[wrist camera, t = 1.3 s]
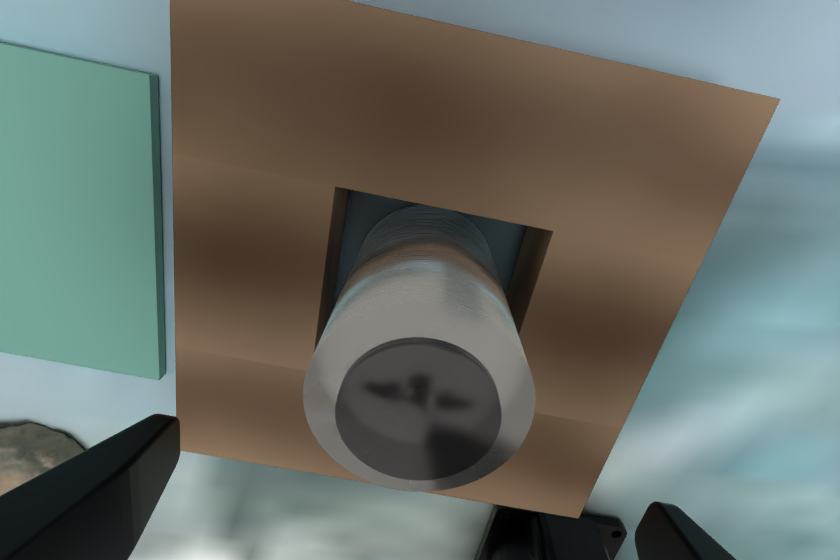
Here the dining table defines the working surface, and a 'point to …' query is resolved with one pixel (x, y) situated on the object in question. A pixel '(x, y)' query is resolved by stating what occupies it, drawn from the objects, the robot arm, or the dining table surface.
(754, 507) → the dining table surface
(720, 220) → the socket block
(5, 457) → the beige elongated piece
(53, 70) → the teal mat
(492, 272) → the steel cylinder
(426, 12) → the dining table surface
